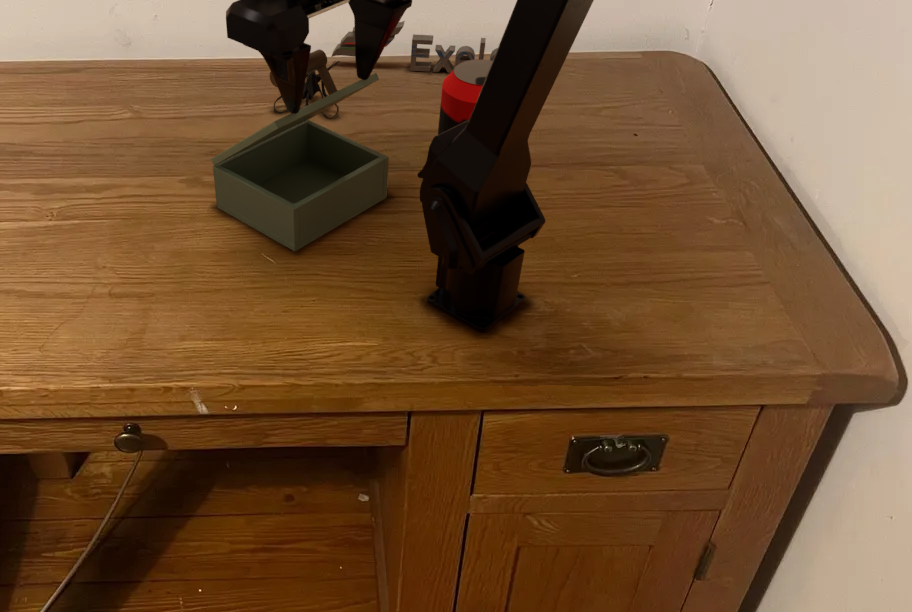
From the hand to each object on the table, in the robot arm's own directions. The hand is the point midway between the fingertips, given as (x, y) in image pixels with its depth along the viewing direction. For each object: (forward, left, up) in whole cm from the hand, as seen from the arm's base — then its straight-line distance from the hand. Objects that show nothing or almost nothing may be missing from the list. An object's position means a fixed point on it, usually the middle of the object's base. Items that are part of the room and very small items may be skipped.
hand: (328, 94), depth 83 cm
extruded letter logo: (+14, -33, -13) cm, 38 cm away
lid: (+4, 0, -4) cm, 6 cm away
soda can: (-6, -15, -13) cm, 21 cm away
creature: (+18, -15, -13) cm, 26 cm away
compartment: (+4, 0, -13) cm, 13 cm away
